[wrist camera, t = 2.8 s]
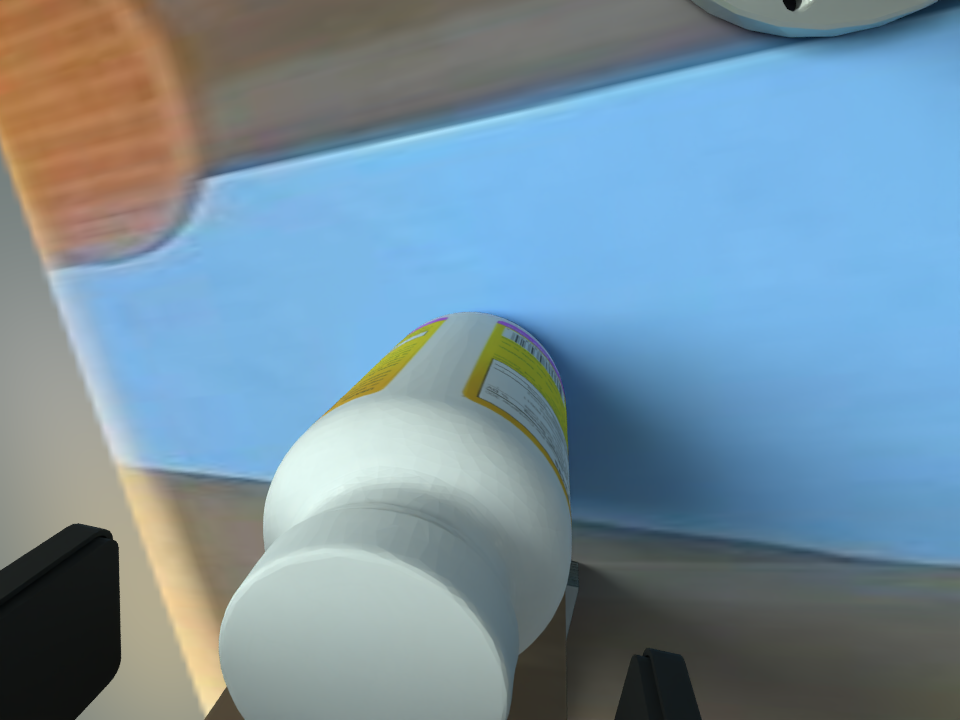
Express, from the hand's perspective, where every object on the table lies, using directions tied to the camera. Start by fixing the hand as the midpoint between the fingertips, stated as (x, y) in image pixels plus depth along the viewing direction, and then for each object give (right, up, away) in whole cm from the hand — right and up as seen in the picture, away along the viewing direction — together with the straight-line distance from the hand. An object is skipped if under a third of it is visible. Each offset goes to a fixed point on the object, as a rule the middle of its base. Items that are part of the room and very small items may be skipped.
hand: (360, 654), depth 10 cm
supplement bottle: (+2, +4, +11) cm, 12 cm away
